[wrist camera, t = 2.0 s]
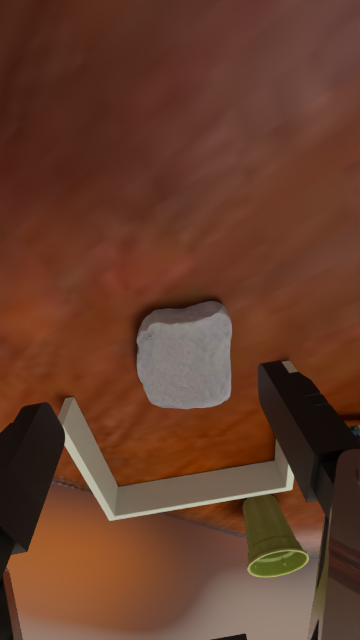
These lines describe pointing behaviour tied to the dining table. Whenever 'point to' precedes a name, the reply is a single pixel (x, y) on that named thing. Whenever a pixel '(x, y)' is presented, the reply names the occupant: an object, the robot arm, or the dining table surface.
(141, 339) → the stone block
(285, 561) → the plant pot
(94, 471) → the cream u-shaped barrier
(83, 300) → the dining table surface
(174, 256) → the dining table surface
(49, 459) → the robot arm
